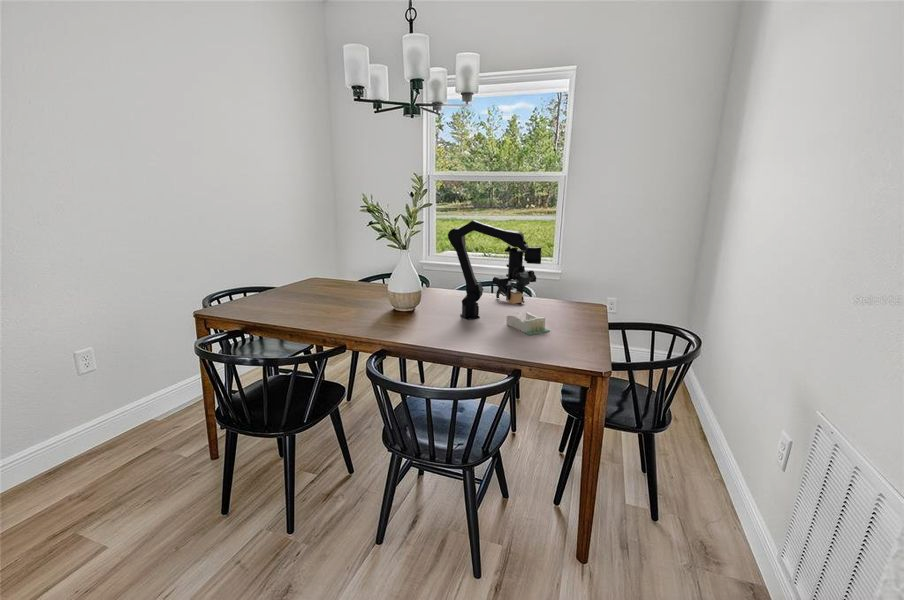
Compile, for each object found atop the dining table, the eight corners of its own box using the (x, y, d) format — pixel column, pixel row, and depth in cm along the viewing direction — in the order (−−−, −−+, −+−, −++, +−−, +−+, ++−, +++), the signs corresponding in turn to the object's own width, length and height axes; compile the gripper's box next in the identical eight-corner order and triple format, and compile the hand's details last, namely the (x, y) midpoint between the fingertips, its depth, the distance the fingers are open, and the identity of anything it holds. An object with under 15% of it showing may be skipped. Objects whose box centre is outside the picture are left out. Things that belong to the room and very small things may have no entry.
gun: (515, 314, 206) (525, 298, 201) (491, 295, 212) (499, 279, 207) (518, 313, 208) (527, 297, 203) (494, 294, 214) (502, 278, 209)
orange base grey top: (512, 303, 174) (513, 293, 173) (505, 300, 179) (506, 290, 177) (521, 302, 176) (522, 291, 175) (514, 299, 181) (515, 289, 179)
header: (528, 335, 162) (528, 323, 161) (505, 324, 175) (506, 312, 173) (551, 331, 167) (552, 318, 166) (527, 320, 180) (528, 308, 179)
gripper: (508, 268, 162) (506, 307, 166) (546, 264, 170) (543, 301, 175) (492, 263, 171) (491, 300, 176) (529, 259, 180) (526, 294, 184)
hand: (513, 299), depth 177 cm, fingers closed on orange base grey top, 4 cm apart
